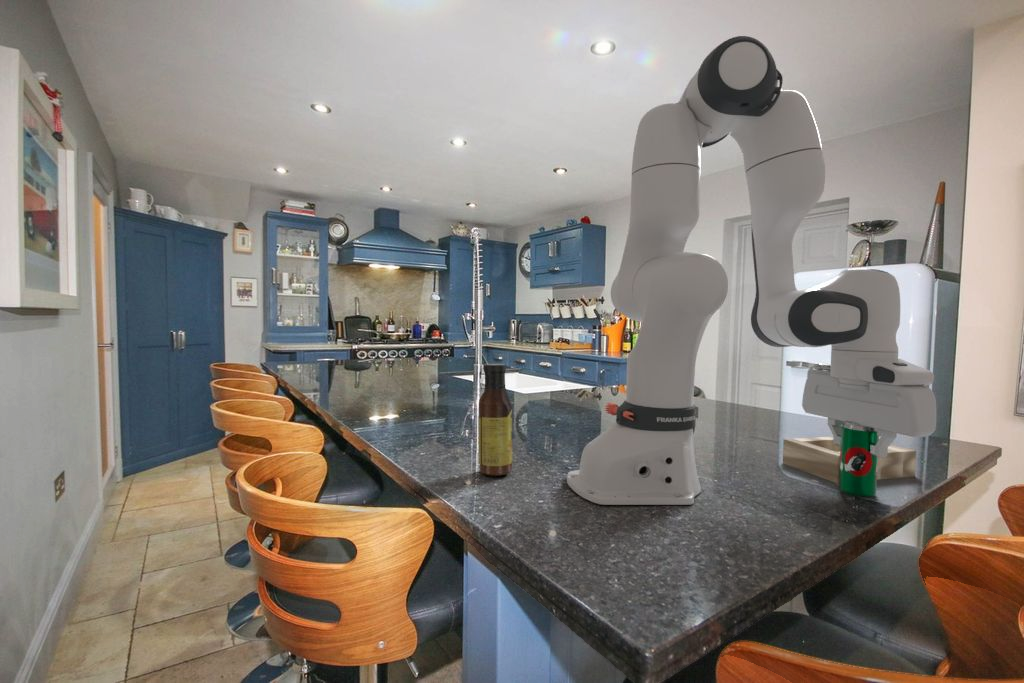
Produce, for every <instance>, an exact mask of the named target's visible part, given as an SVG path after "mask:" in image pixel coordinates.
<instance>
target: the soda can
mask: <svg viewBox="0 0 1024 683" xmlns="http://www.w3.org/2000/svg"><path fill="white" fill-rule="evenodd" d="M879 439H880V436H878V435H877V429H876V428H871V427H867V426H862V425H860V424H855V423H852V422H847V421H844V424H843V425H841V444H840V466H839V483H838V488H839V489H840V491H841V493H844V494H847V495H850V496H851V497H852V496H854V497H857V498H866V499H868V498H873V497H875V496H876V495H877V486H878V485H877V483H878V480H877V468H878V457H875V456H872V455H870V451H871V450H870V445H873V444H874V445H876V444H877V442H878V440H879Z"/></svg>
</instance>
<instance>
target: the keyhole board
mask: <svg viewBox="0 0 1024 683" xmlns="http://www.w3.org/2000/svg"><path fill="white" fill-rule="evenodd" d="M782 443H783V447H782V464H783V465H785V466H788V467H791V468H795V469H796V470H800V471H803V472H805V473H808V474H811V475H814V476H816V477H819V478H821V479H824V480H827V481H830V482H833V483H835V484H839V466H840V446H837V445H834V444H833V436H815V437H799V438H795V437H794V438H783V441H782ZM916 462H917V450H914V449H911V448H907V447H902V446H900V445H899V446H898V445H894V444H892V443H891V444H890V446H889V447H888V453H887V457H886V458H879V457H878V468H877V481H878V480H888V479H898V478H909V477H910V478H911V477H915V476H916Z"/></svg>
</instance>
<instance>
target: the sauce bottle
mask: <svg viewBox="0 0 1024 683" xmlns="http://www.w3.org/2000/svg"><path fill="white" fill-rule="evenodd" d="M506 371H507V366H506V364H505V363H486V364H485V363H484V364H483V373H484V386H483V387H484V390H483V392H482V394H481V395H480V396H479V397H480V398H479V399H478V400H479V401H478V418H477V419H478V421H477V422H478V427H477V428H478V429H477V430H478V464H479V467H478V468H479V471H480V472H481V474H483V475H487V476H495V477H497V476H503V475H507V474H510V472H512V468H513V460H514V459H513V406H512V403H511V401H510V400H511V399H510V398H509V394H508V392H507V391H508V390H507V389H506V388H507V387H506Z"/></svg>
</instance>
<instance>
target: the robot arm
mask: <svg viewBox="0 0 1024 683" xmlns="http://www.w3.org/2000/svg"><path fill="white" fill-rule="evenodd" d="M783 81H784V80H783V75H782V73H781V72H780V71H779V70H778V69H777V64H776V61H775V58H774V57H773V55H772V53H771V51H770V50H769V48H767V46H766V45H765V44H763V43H762V41H760V40H758V39H757V38H755V37H752V36H747V35H738V36H733V37H731V38H729V39H727V40H725V41H723V42H722V43H720V44H718V45H717V46H716V47H715V48H713V49H712V50H711V51H710V53H708V54H707V56H705V57H704V59H703V61H702V63H701V65H700V67H698V69H697V71H696V72H695V74H694V75H693V76H692V77H691V79H690V80H689V82H688V83H687V85H686V88H685V89H684V91H683V93H682V94H681V97H680V99H679V101H678V102H675V103H665V104H660V105H657V106H655V107H652V108H651V109H649V110H648V111H647V112H646V113H645V114H644V115H643V116H642V117H641V118H640V121H639V124H638V127H637V130H636V136H635V140H634V141H635V142H634V146H633V154H632V162H631V164H632V165H631V183H630V184H631V185H630V186H631V188H630V189H631V190H630V212H629V213H630V216H629V224H628V226H629V227H628V232H627V235H626V236H627V237H626V240H625V241H626V242H625V246H624V248H623V252H622V257H621V262H620V265H619V270H618V272H617V275H616V277H615V278H614V280H613V282H612V283H611V287H610V300H611V304H612V305H613V307H614V308H615V310H616V311H617V312H618V313H619V314H621V315H622V316H624V317H626V318H628V319H630V320H632V321H635V322H639V323H641V324H640V328H639V332H638V335H637V339H636V341H635V344H634V346H633V348H631V350H630V351H629V353H628V356H627V359H626V379H625V380H626V382H625V384H626V385H625V386H626V387H625V400H624V401H623V402H622V403H621V404H620V405H618V404H615V403H614V402H607V403H606V405H604V409H605V412H606V413H607V414H609V415H611V416H616V418H615V423H613V424H611V426H610V427H608V428H607V429H606V430H604V431H603V432H601V433H600V434H599V435H598V436H596V437H595V438H593V440H591V441H589V442H588V443H587V444H586V445H585V446H584V448H583V450H582V452H581V458H580V462H579V463H580V464H579V468H578V469H575V470H571V471H568V473H567V475H566V482H567V486H568V487H569V488H571V490H572V491H573V492H575V493H576V494H577V495H579V496H580V497H581V498H583V499H585V500H588V501H590V502H591V503H594V504H597V505H603V506H605V505H607V506H609V505H611V506H612V505H613V506H615V505H616V506H622V505H623V506H625V505H628V506H629V505H631V506H632V505H633V506H635V505H636V506H637V505H639V506H640V505H641V506H642V505H643V506H644V505H647V506H648V505H650V506H652V505H654V506H659V505H663V506H665V505H667V506H671V505H673V506H676V505H678V506H679V505H681V506H682V505H684V506H685V505H686V506H687V505H688V506H689V505H693V504H694V503H695V497H696V496H698V495H699V494H700V493H701V491H702V487H701V484H700V480H699V474H698V471H697V470H698V469H697V466H696V456H695V447H694V446H695V444H694V434H695V429H696V426H697V425H696V424H697V423H696V421H697V417H696V416H697V415H696V414H697V412H696V411H697V410H696V408H697V407H696V405H695V404H694V394H695V393H694V392H695V376H696V375H695V373H696V372H695V371H696V362H697V356H698V352H699V348H700V345H701V342H702V338H703V336H704V334H705V330H706V328H707V326H708V323H709V322H710V320H711V319H712V316H714V315H715V313H716V312H717V311H718V310H719V309H721V307H722V306H723V304H724V302H726V301H725V300H726V299H727V296H728V291H729V281H728V276H727V275H728V274H727V272H726V270H725V268H724V267H723V265H722V264H721V263H720V261H718V260H717V259H716V258H715V257H713V256H711V255H708V254H704V253H700V252H699V253H698V252H689V251H688V252H687V251H684V250H685V247H686V244H687V241H688V238H689V236H690V234H691V233H692V231H693V230H694V229H695V227H696V226H697V223H698V222H699V218H700V202H701V200H700V199H701V170H702V169H701V164H702V163H701V162H702V160H701V157H702V156H701V153H702V149H703V148H707V147H711V146H713V145H715V144H717V143H719V142H721V141H722V140H724V139H725V138H727V137H728V135H730V136H731V137H732V139H734V140H735V142H736V143H737V145H738V146H739V148H740V151H741V153H742V154H743V155H742V156H743V165H744V171H745V177H746V178H745V179H746V183H747V184H746V185H747V191H748V197H749V206H750V219H751V220H750V221H751V246H752V258H753V268H754V269H753V271H754V280H755V297H754V303H753V306H752V309H751V315H750V324H751V328H752V332H754V334H755V336H756V337H757V338H758V339H759V340H760V341H761V342H763V343H764V344H766V345H768V346H770V347H775V348H787V347H799V348H802V347H803V348H820V347H821V348H822V347H826V346H830V345H831V350H830V364H822V363H815V364H813V365H812V366H811V367H810V368H809V369H808V370H807V375H806V377H807V378H806V381H805V384H804V388H803V392H802V401H801V402H802V403H801V406H802V409H803V411H804V412H805V413H806V414H809V415H814V416H817V417H818V416H819V417H822V418H826V419H827V426H828V428H829V430H830V432H831V433H832V437H833V444H834V445H837V446H840V444H841V426H842V425H843V424H844V423H845V422H844V421H847V422H852V423H855V424H860V425H862V426H867V427H871V428H876V429H877V435H878V436H879V440H878V442H877V444H876V445H874V444H873V445H870V450H871V451H870V455H872V456H875V457H879V458H886V457H887V453H888V447H889V446H890V444H891V445H892V444H893V442H894V440H896V438H897V434H898V435H902V436H907V437H912V438H923V437H929V436H931V435H932V434H933V433H934V432H935V431H936V428H937V399H936V396H935V393H934V391H933V390H932V388H930V387H929V386H931V385H932V384H933V383H934V380H935V375H934V372H932V371H931V370H929V369H927V368H924V367H922V366H919V365H916V364H914V363H911V362H908V361H906V360H904V359H902V358H899V347H898V343H897V339H896V337H897V333H898V329H899V328H900V324H901V294H900V293H901V292H900V287H899V283H898V281H897V279H896V277H895V276H894V275H893V274H892V273H889V272H888V271H885V270H883V269H882V270H881V269H877V268H862V267H855V268H847V269H844V270H841V271H840V272H839V274H837V275H836V276H834V277H832V278H830V279H828V280H826V281H824V282H821V283H819V284H816V285H813V286H811V287H808V288H805V289H800V290H798V289H797V287H796V283H795V272H794V271H795V270H794V258H793V241H794V238H795V233H796V232H797V229H798V228H799V226H800V225H801V223H802V222H803V220H804V219H805V217H806V216H807V215H808V214H809V212H811V210H812V209H813V208H814V207H815V206H816V205H817V203H818V202H819V200H821V199H820V198H822V195H823V193H824V190H825V183H826V166H825V158H824V154H823V147H822V143H821V142H822V141H821V137H820V133H819V130H818V127H817V126H818V125H817V124H816V120H815V117H814V115H813V112H812V110H811V108H810V107H811V106H810V105H809V103H808V101H807V98H806V97H805V96H804V95H803V94H802V93H801V92H799V91H797V90H789V89H787V90H785V89H784V90H783ZM778 82H779V85H778Z"/></svg>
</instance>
